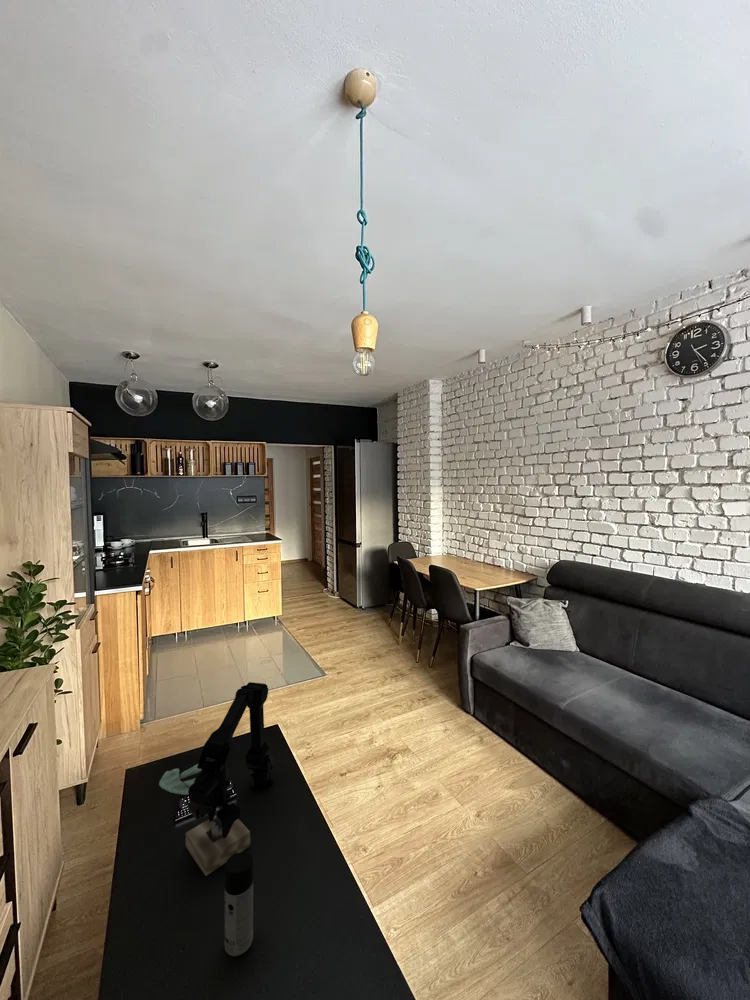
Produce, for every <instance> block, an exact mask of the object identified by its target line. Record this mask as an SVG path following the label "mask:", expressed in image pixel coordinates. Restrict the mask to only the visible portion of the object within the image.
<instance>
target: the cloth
mask: <svg viewBox="0 0 750 1000" xmlns="http://www.w3.org/2000/svg"><path fill="white" fill-rule="evenodd" d="M197 766H198V763H197V764H195V765H193V766H191V767H190V768H188V769H185V770H184V771H182V773H180V769H179V768H174V769H171V770H167V771H165V772H164V774H163V775H162V776H161V779H159V783H158V786H159V787H160V788H161V789H163V790H165V791H167V792H169V793H172V794H176V795H183V796H184V795H185V796H189V795H188V790H189V788H190V786H191V785H192V784H193V783H194V782H195V779H196V777H195V778H192V779H188V780H185V781H182V780H181V779H185V778H188V777H190V776H193V775H197V774H198V773H202V769H198V768H197Z"/></svg>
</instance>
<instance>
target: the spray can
mask: <svg viewBox="0 0 750 1000" xmlns="http://www.w3.org/2000/svg"><path fill="white" fill-rule="evenodd" d="M223 923H224V927H223V928H224V930H223V931H224V939H223V940H224V951H225V953H226V954H227V955H228V956H230V957H231V958H232V957H233V958H234V957H236V958H237V957H240V956H242V955H243V954H246V953H247V951H248V950H249V949H250V948H251V945H252V943H253V939H254V857H253V855H252V854H251V853H250V852H245V851H242V852H241V853H237V854H236V853H235V854H233V855H232V856H231V857H230V858H229V859H228V860H227V862H226V863H225V864H224V921H223Z"/></svg>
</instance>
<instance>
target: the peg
mask: <svg viewBox="0 0 750 1000" xmlns="http://www.w3.org/2000/svg"><path fill="white" fill-rule="evenodd" d="M216 822H217V819H216V818H215V819H214V820H213V821H212V842H213V843H214V842H216V841H217V840H219V839H220V838H222V837H223V835H222V829H221V827H220V826H219V825H218V824H217V823H216Z"/></svg>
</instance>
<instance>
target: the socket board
mask: <svg viewBox="0 0 750 1000" xmlns="http://www.w3.org/2000/svg"><path fill="white" fill-rule="evenodd" d="M216 815H217V814H215V815H214V819H215V818H216ZM214 819H213V820H214ZM249 847H251V831H250V830H249V829H248V828H247V827H246V825H244V824H243V822H242V821H241V820H240V818H239V819H237V820H236V821H234V823H233V825H232V827H231V829H230V831H229V833H228V836H227V837H226V838H223V837H222V838H220V839H219V840H217V841H216V842H214V843H213V842H212V821H211V822H210V821H209V818H208V819H207V820H205V821H203V822H202V823H200V824H198V825H196V826H195V827H193V828H192V829H190V830H188V831H186V832H185V848H186V849H187V851H188V852H189V854H190V855H191V857H192V858H193V860H194V862H195V863H196V864H197V866H198V867H199V868H200V870H201V871H202V873H203V874H204V875H205V877H206V876H208V875H210V874H211V873H212V872H214V871H216V870H217V869H219V868H220V867H221V866H223V865H225V864H226V862H227V860H228V859H229V858H230V857H231V856H232V855H233V854H235V853H236V854H237V853H241V852H245V850H246V849H248V848H249Z"/></svg>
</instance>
